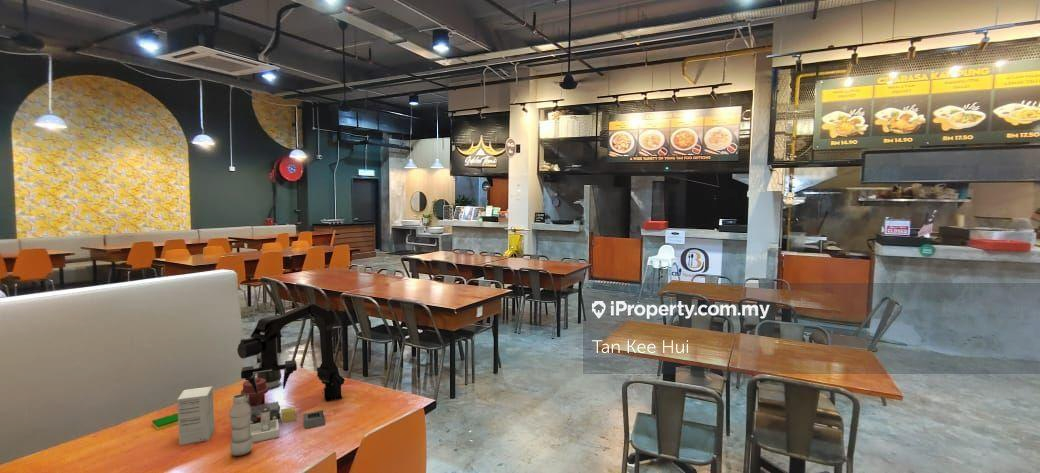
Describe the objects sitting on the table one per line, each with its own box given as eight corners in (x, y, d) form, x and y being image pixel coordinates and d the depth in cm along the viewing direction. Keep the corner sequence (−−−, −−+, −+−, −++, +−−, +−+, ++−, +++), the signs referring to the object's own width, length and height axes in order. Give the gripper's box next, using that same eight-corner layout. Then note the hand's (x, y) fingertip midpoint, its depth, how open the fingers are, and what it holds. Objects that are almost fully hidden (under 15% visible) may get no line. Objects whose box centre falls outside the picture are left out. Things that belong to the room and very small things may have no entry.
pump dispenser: (251, 390, 215) (250, 357, 214) (267, 381, 225) (266, 350, 224) (271, 391, 213) (270, 358, 212) (286, 383, 223) (285, 351, 222)
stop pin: (270, 429, 176) (269, 406, 175) (270, 433, 173) (269, 409, 172) (261, 431, 174) (260, 407, 174) (261, 434, 172) (260, 410, 171)
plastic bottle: (236, 448, 163) (233, 392, 161) (256, 447, 163) (254, 391, 162) (226, 458, 156) (223, 400, 155) (247, 457, 157) (245, 399, 156)
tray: (278, 426, 179) (278, 419, 179) (278, 437, 171) (278, 429, 170) (243, 433, 174) (243, 425, 173) (242, 445, 165) (241, 436, 165)
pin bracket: (322, 417, 186) (322, 410, 186) (324, 424, 180) (324, 417, 180) (303, 421, 183) (303, 414, 183) (304, 428, 177) (304, 421, 177)
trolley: (280, 411, 192) (279, 388, 191) (280, 422, 183) (279, 397, 182) (246, 418, 186) (245, 393, 186) (244, 429, 177) (243, 403, 176)
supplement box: (185, 433, 174) (183, 389, 173) (215, 428, 177) (212, 385, 176) (178, 445, 165) (176, 399, 164) (209, 440, 169) (207, 394, 168)
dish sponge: (152, 426, 181) (152, 420, 181) (194, 413, 191) (193, 408, 191) (157, 432, 176) (157, 425, 176) (200, 418, 187) (200, 412, 187)
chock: (295, 416, 188) (295, 406, 188) (295, 420, 184) (295, 410, 184) (281, 419, 186) (281, 409, 185) (281, 423, 182) (281, 413, 182)
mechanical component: (252, 402, 201) (274, 403, 200) (235, 413, 191) (258, 413, 190) (251, 374, 200) (273, 375, 199) (234, 383, 190) (257, 384, 189)
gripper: (294, 342, 191) (296, 379, 192) (241, 349, 182) (243, 388, 183) (296, 349, 181) (297, 389, 182) (240, 357, 173) (241, 398, 174)
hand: (270, 390), depth 181 cm, fingers open, 9 cm apart
